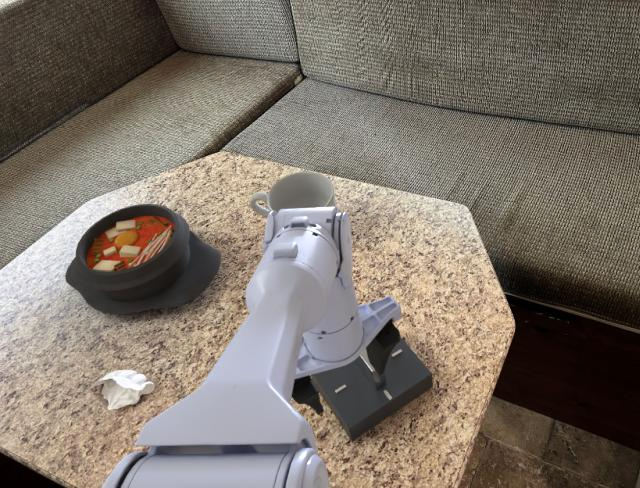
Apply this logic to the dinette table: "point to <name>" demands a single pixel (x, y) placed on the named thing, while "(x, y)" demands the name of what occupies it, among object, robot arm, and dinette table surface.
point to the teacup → (296, 193)
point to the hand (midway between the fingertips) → (347, 386)
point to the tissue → (123, 388)
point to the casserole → (141, 261)
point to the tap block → (373, 390)
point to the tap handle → (370, 370)
